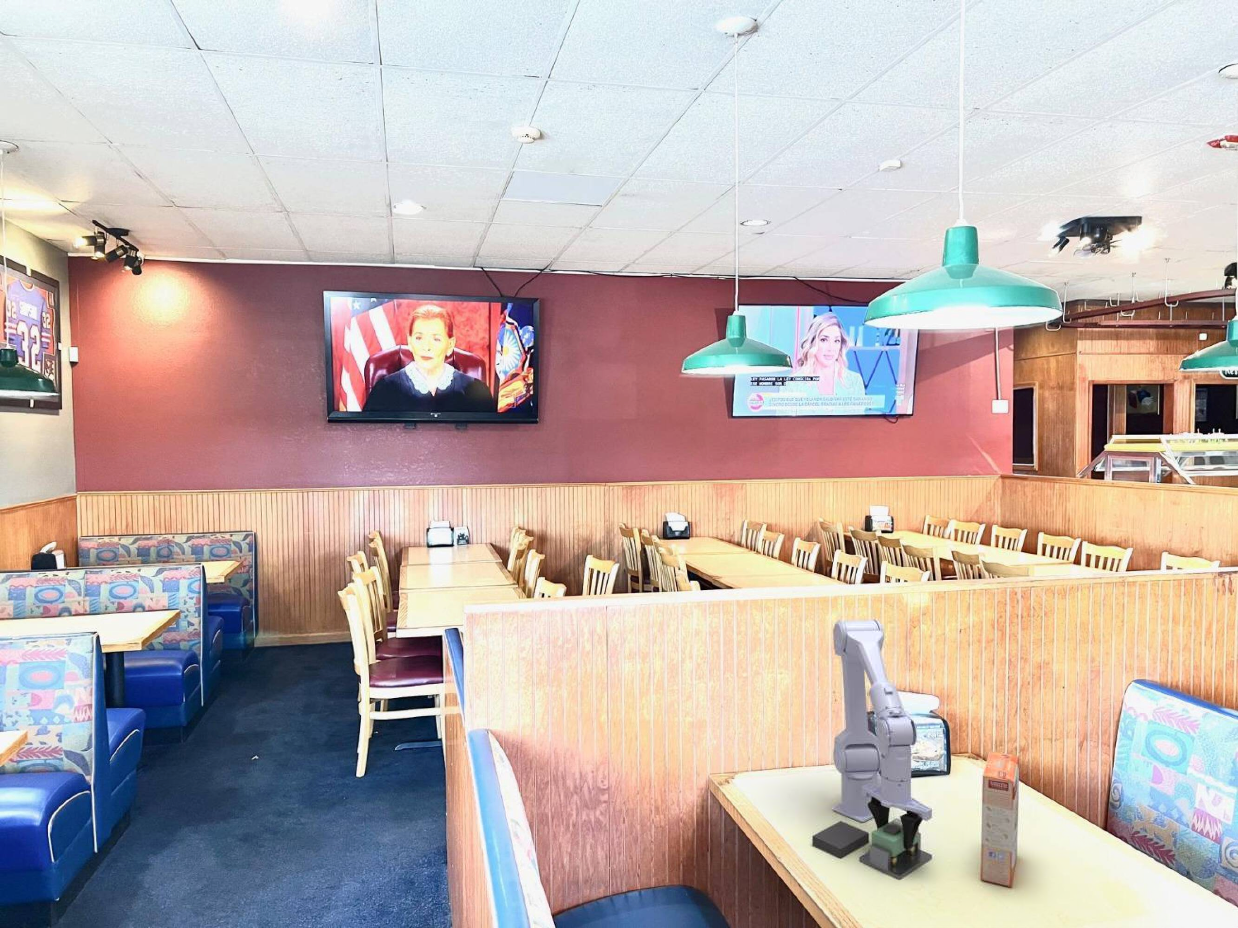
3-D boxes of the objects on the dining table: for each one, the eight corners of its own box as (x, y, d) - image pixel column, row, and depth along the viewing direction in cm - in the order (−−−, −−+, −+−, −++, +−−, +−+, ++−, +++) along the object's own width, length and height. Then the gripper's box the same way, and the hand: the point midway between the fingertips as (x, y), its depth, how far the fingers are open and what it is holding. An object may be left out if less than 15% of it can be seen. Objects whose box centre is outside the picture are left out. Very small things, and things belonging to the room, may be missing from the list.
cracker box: (1014, 889, 152) (1015, 780, 152) (979, 880, 155) (980, 774, 155) (1019, 855, 165) (1020, 754, 164) (987, 848, 168) (987, 748, 167)
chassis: (892, 841, 171) (892, 821, 170) (932, 858, 164) (932, 837, 164) (859, 860, 163) (859, 840, 163) (899, 879, 156) (899, 858, 156)
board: (896, 832, 168) (896, 815, 168) (918, 841, 164) (918, 824, 164) (871, 846, 162) (871, 829, 162) (893, 856, 158) (893, 838, 158)
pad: (840, 829, 176) (840, 820, 176) (868, 842, 170) (868, 832, 170) (812, 845, 169) (812, 835, 169) (840, 858, 164) (840, 848, 164)
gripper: (853, 769, 166) (853, 834, 166) (918, 793, 155) (918, 863, 155) (873, 760, 170) (872, 823, 171) (937, 783, 159) (937, 850, 160)
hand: (895, 841), depth 163 cm, fingers closed on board, 5 cm apart
